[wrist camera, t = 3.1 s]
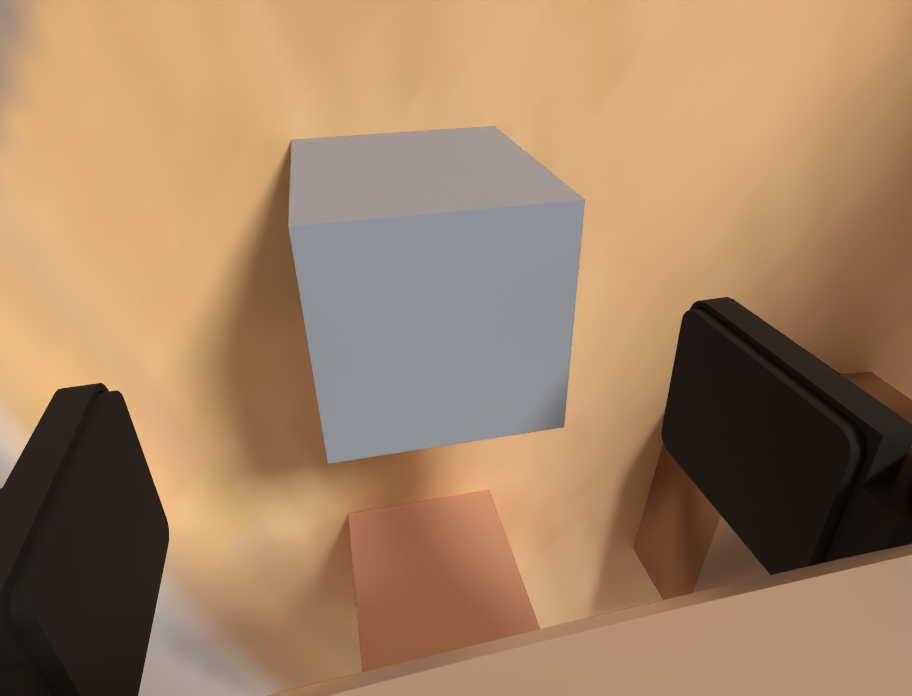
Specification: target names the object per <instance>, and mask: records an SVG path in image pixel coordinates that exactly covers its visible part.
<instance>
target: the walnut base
mask: <svg viewBox="0 0 912 696" xmlns="http://www.w3.org/2000/svg"><path fill="white" fill-rule="evenodd" d="M842 376H844V377H845V378H847V379H848V380H850V381H851V382H852V383H854V384H855V385H857V386H858V387H860V388H861V389H862V390H864V391H865V392H867V393H868V394H870V395H871V396H873V397H874V398H875V399H877V400H878V401H880V402H881V403H883V404H884V405H885V406H887V407H888V408H890V409H891V410H893V411H894V412H895V413H897V414H898V415H900V416H901V417H903V418H904V419H906V420H907V421H908V422H910V423H911V424H912V400H910V399H909V398H907V397H906V396H904V395H903V394H902V393H900V392H899V391H897V390H896V389H894V388H893V387H892V386H890V385H889V384H887V383H886V382H884V381H883V380H882V379H880V378H879V377H877V376H876V375H874V374H873V373H872V372H867V373H856V374H844V375H842ZM911 448H912V446H911ZM634 550H635V552H636V554H637V555H638V557H639V559H640V561H641V562H642V564H643V566H644V567H645V569H646V571H647V573H648V574H649V576H650V578H651V579H652V581H653V583H654V585H655V586H656V588H657V590H658V591H659V593H660V595H661V597H662V598H663V600H666V599H670V598H675V597H679V596H683V595H687V594H692V593H696V592H700V591H705V590H709V589H713V588H718V587H722V586H726V585H730V584H735V583H739V582H743V581H748V580H752V579H756V578H761V577H765V576H769V575H770V574H769V573H768V572H767V570H766V569H765V568H764V567H763V566H762V564H761V563H760V562H759V561H758V559H757V558H756V557H755V556H754V555H753V553H752V552H751V551H750V550H749V549H748V547H747V546H746V545H745V544H744V543H743V541H742V540H741V539H740V538H739V537H738V535H737V534H736V533H735V532H734V531H733V529H732V528H731V527H730V526H729V524H728V523H727V522H726V521H725V520H724V518H723V517H722V516H721V515H720V514H719V512H718V511H717V510H716V509H715V508H714V506H713V505H712V504H711V503H710V502H709V500H708V499H707V498H706V497H705V496H704V494H703V493H702V492H701V491H700V490H699V488H698V487H697V486H696V485H695V483H694V482H693V481H692V480H691V479H690V477H689V476H688V475H687V474H686V473H685V471H684V470H683V469H682V468H681V467H680V465H679V464H678V463H677V462H676V461H675V459H674V458H673V457H672V456H671V455H670V453H669V452H668V451H667V449H666V448H665V446H664V443H663V446H662V450H661V453H660V457H659V460H658V464H657V467H656V471H655V474H654V478H653V481H652V485H651V488H650V492H649V496H648V499H647V503H646V506H645V510H644V513H643V517H642V520H641V524H640V527H639V531H638V534H637V538H636V541H635V545H634Z"/></svg>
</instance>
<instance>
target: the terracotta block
mask: <svg viewBox="0 0 912 696" xmlns="http://www.w3.org/2000/svg"><path fill="white" fill-rule="evenodd" d="M348 518H349V529H350V540H351V551H352V562H353V573H354V584H355V595H356V606H357V617H358V628H359V639H360V650H361V661H362V672H366V671H370V670H374V669H378V668H382V667H386V666H391V665H395V664H399V663H403V662H407V661H411V660H415V659H419V658H423V657H427V656H432V655H436V654H440V653H444V652H448V651H452V650H456V649H460V648H464V647H469V646H473V645H477V644H481V643H485V642H489V641H494V640H498V639H502V638H506V637H510V636H515V635H519V634H523V633H527V632H531V631H536V630H540V627H539V625H538V622H537V619H536V617H535V614H534V611H533V608H532V606H531V603H530V600H529V597H528V595H527V592H526V589H525V586H524V584H523V581H522V578H521V576H520V573H519V570H518V567H517V565H516V562H515V559H514V556H513V554H512V551H511V548H510V545H509V543H508V540H507V537H506V534H505V532H504V529H503V526H502V524H501V521H500V518H499V515H498V513H497V510H496V507H495V504H494V502H493V499H492V496H491V493H490V491H489V490H484V491H478V492H472V493H466V494H460V495H455V496H449V497H443V498H437V499H431V500H425V501H419V502H413V503H407V504H402V505H396V506H390V507H384V508H378V509H372V510H366V511H360V512H354V513H349V514H348Z"/></svg>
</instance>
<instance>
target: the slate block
mask: <svg viewBox="0 0 912 696" xmlns="http://www.w3.org/2000/svg"><path fill="white" fill-rule="evenodd" d="M584 204H585V199H584V198H582V197H581V196H580V195H579V194H577V193H576V192H575V191H574V190H572V189H571V188H570V187H569V186H568V185H566V184H565V183H564V182H563V181H561V180H560V179H559V178H558V177H556V176H555V175H554V174H553V173H552V172H550V171H549V170H548V169H547V168H545V167H544V166H543V165H542V164H540V163H539V162H538V161H537V160H535V159H534V158H533V157H532V156H531V155H529V154H528V153H527V152H526V151H524V150H523V149H522V148H521V147H519V146H518V145H517V144H516V143H515V142H513V141H512V140H511V139H510V138H508V137H507V136H506V135H505V134H503V133H502V132H501V131H500V130H499V129H497V128H496V127H495V126H488V127H473V128H458V129H444V130H429V131H414V132H399V133H384V134H369V135H355V136H340V137H325V138H310V139H295V140H292V142H291V168H290V194H289V220H288V228H289V234H290V240H291V246H292V252H293V258H294V264H295V270H296V276H297V282H298V288H299V294H300V300H301V306H302V312H303V318H304V324H305V330H306V336H307V342H308V348H309V354H310V360H311V366H312V372H313V378H314V384H315V390H316V396H317V402H318V408H319V414H320V420H321V426H322V432H323V438H324V444H325V450H326V456H327V462H328V464H330V463H337V462H343V461H349V460H356V459H362V458H369V457H375V456H382V455H388V454H394V453H401V452H407V451H414V450H420V449H427V448H433V447H439V446H446V445H452V444H459V443H465V442H472V441H478V440H484V439H491V438H497V437H504V436H510V435H517V434H523V433H529V432H536V431H542V430H549V429H555V428H562V427H564V420H565V410H566V399H567V388H568V377H569V366H570V356H571V345H572V334H573V323H574V312H575V302H576V291H577V280H578V269H579V258H580V248H581V237H582V226H583V215H584Z"/></svg>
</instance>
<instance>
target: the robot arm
mask: <svg viewBox="0 0 912 696" xmlns="http://www.w3.org/2000/svg"><path fill="white" fill-rule="evenodd" d="M662 440H663V443H664V446H665V448H666V449H667V451H668V452H669V453H670V455H671V456H672V457H673V458H674V459H675V461H676V462H677V463H678V464H679V465H680V467H681V468H682V469H683V470H684V471H685V473H686V474H687V475H688V476H689V477H690V479H691V480H692V481H693V482H694V483H695V485H696V486H697V487H698V488H699V490H700V491H701V492H702V493H703V494H704V496H705V497H706V498H707V499H708V500H709V502H710V503H711V504H712V505H713V506H714V508H715V509H716V510H717V511H718V512H719V514H720V515H721V516H722V517H723V518H724V520H725V521H726V522H727V523H728V524H729V526H730V527H731V528H732V529H733V531H734V532H735V533H736V534H737V535H738V537H739V538H740V539H741V540H742V541H743V543H744V544H745V545H746V546H747V547H748V549H749V550H750V551H751V552H752V553H753V555H754V556H755V557H756V558H757V559H758V561H759V562H760V563H761V564H762V566H763V567H764V568H765V569H766V570H767V572H768V573H769V574H770V575H769V576H765V577H761V578H756V579H752V580H748V581H743V582H739V583H735V584H730V585H726V586H722V587H718V588H713V589H709V590H705V591H700V592H696V593H692V594H687V595H683V596H679V597H675V598H670V599H666V600H662V601H658V602H653V603H649V604H645V605H641V606H637V607H632V608H628V609H624V610H620V611H615V612H611V613H607V614H603V615H599V616H594V617H590V618H586V619H582V620H577V621H573V622H569V623H565V624H561V625H556V626H552V627H548V628H544V629H540V630H536V631H531V632H527V633H523V634H519V635H515V636H510V637H506V638H502V639H498V640H494V641H489V642H485V643H481V644H477V645H473V646H469V647H464V648H460V649H456V650H452V651H448V652H444V653H440V654H436V655H432V656H427V657H423V658H419V659H415V660H411V661H407V662H403V663H399V664H395V665H391V666H386V667H382V668H378V669H374V670H370V671H366V672H362V673H358V674H354V675H349V676H345V677H341V678H337V679H333V680H329V681H325V682H321V683H317V684H313V685H308V686H304V687H300V688H296V689H292V690H288V691H284V692H280V693H276V694H272V695H268V696H912V448H911V446H912V424H911V423H910V422H908V421H907V420H906V419H904V418H903V417H901V416H900V415H898V414H897V413H895V412H894V411H893V410H891V409H890V408H888V407H887V406H885V405H884V404H883V403H881V402H880V401H878V400H877V399H875V398H874V397H873V396H871V395H870V394H868V393H867V392H865V391H864V390H862V389H861V388H860V387H858V386H857V385H855V384H854V383H852V382H851V381H850V380H848V379H847V378H845V377H844V376H842V375H841V374H839V373H838V372H837V371H835V370H834V369H832V368H831V367H829V366H828V365H827V364H825V363H824V362H822V361H821V360H819V359H818V358H817V357H815V356H814V355H812V354H811V353H809V352H808V351H806V350H805V349H804V348H802V347H801V346H799V345H798V344H796V343H795V342H794V341H792V340H791V339H789V338H788V337H786V336H785V335H783V334H782V333H781V332H779V331H778V330H776V329H775V328H773V327H772V326H771V325H769V324H768V323H766V322H765V321H763V320H762V319H761V318H759V317H758V316H756V315H755V314H753V313H752V312H750V311H749V310H748V309H746V308H745V307H743V306H742V305H740V304H739V303H738V302H736V301H735V300H733V299H731V298H729V297H725V298H717V299H710V300H702V301H697V302H695V303H694V304H693V305H692V307H691V308H690V310H688V311H687V312H685V314H684V315H683V318H682V323H681V328H680V333H679V339H678V344H677V350H676V355H675V361H674V366H673V371H672V377H671V382H670V388H669V393H668V399H667V404H666V409H665V415H664V420H663V426H662ZM168 543H169V528H168V522H167V518H166V516H165V513H164V510H163V507H162V504H161V501H160V499H159V496H158V493H157V490H156V487H155V485H154V482H153V479H152V476H151V473H150V471H149V468H148V465H147V462H146V459H145V457H144V454H143V451H142V448H141V445H140V442H139V440H138V437H137V434H136V431H135V428H134V426H133V423H132V420H131V417H130V414H129V412H128V409H127V406H126V403H125V400H124V398H123V396H122V394H121V393H120V392H119V391H110V392H109V391H108V389H107V388H106V386H105V385H104V384H102V383H98V384H91V385H84V386H76V387H69V388H62V389H58V390H57V391H56V393H55V394H54V396H53V398H52V399H51V401H50V403H49V405H48V407H47V408H46V410H45V412H44V414H43V416H42V417H41V419H40V421H39V423H38V425H37V427H36V428H35V430H34V432H33V434H32V436H31V437H30V439H29V441H28V443H27V445H26V446H25V448H24V450H23V452H22V454H21V455H20V457H19V459H18V461H17V463H16V465H15V466H14V468H13V470H12V472H11V474H10V475H9V477H8V479H7V481H6V483H5V484H4V486H3V488H1V489H0V696H138V693H139V688H140V683H141V677H142V673H143V668H144V663H145V658H146V653H147V648H148V643H149V638H150V633H151V628H152V623H153V618H154V613H155V608H156V603H157V598H158V593H159V588H160V583H161V578H162V573H163V568H164V563H165V558H166V553H167V548H168Z"/></svg>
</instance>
